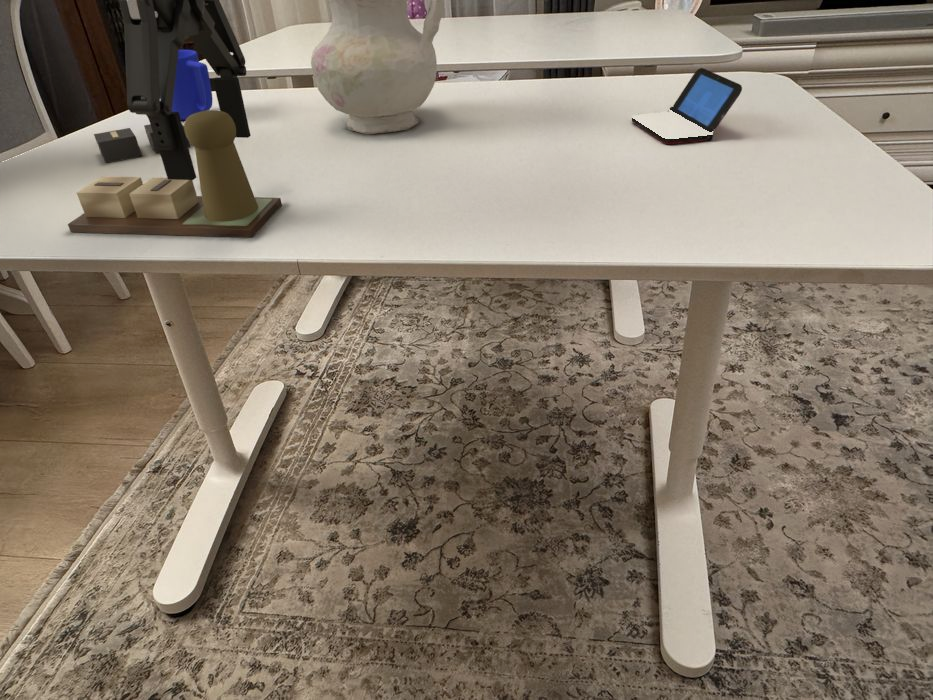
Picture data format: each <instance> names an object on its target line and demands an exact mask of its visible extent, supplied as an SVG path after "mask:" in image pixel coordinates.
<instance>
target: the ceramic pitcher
mask: <svg viewBox="0 0 933 700" xmlns="http://www.w3.org/2000/svg"><path fill="white" fill-rule="evenodd" d="M327 1H328V5H329V9H330V13H331V23H330V26H329V29H328V31H327V32H326V34H325V35H324V36H323V37H322V39H321V40H319V42H318V44H317V45H316V46H315V47H314V49H313V50H312V53H311V60H310V65H311V72H312V76H313V79H314V81H315V84H316V87H317V90H318V91H319V93H320V94H321V95H322V97H323V98H324V100H325V101H326V102H327V103H328V104H329V105H330V106H331V107H332V108H333V109H334V110H336V111H337V112H340V113H343V114H344V115H348V118H347V122H346V128H347V129H348V130H350V131H353V132H355V133H356V132H357V133H360V134H363V135H367V136H368V135H374V134H386V133H392V132H400V131H407V130H410V129H411V128H413V127H414V126H416V125H417V124H419V123H420V121H419V119H418V118H417V117H416V116H415V115H414V113H413V112H412V111H414V110H416V109H418V108H420V107H421V106H422V105H423V104H424V103H425V102H426V100H427V99H428V97H429V96H430V94H431V92H432V90H433V88H434V86H435V84H436V83H435V82H436V79H437V70H438V63H437V54H436V49H435V47H434V44H433V41H434V39H435V37H436V35H437V33H438V32H439V29H440V25H441V24H440V23H441V20H442V17H443V14H444V11H445V0H430V2H429V5H428V10H427V12H426V16H425V18H424V21H423V27H422V28H423V29H422V32H420V31H419V30H417V29H416V27H415V26H414V25H412V23H411V21H410V18H409V15H408V3H407V2H408V0H327Z"/></svg>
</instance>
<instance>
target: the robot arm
mask: <svg viewBox="0 0 933 700" xmlns="http://www.w3.org/2000/svg"><path fill="white" fill-rule="evenodd" d="M118 3H119V7H120V13H121V16H122V20H123V27H124V28H123V31H124V55H125V75H126V76H125V77H126V79H125V80H126V81H125V82H126V102H127V104H126V105H127V109H128V111H129V112H130V113H132V114H135V115H141V116H142V115H143V116H146V117H147V118H148V121H149V124H150V125H151V128H152V131H153V134H154V138H155V141H156V145H157V146H158V148H159V151H160V153H159V154H160V157H161V162H162V164H163V168H164V171H165V174H166V178H168V179H172V180H192V181H194V180H195V179H197V174H196V171H195V167H194V163H193V159H192V156H191V152H190V147H188V145H187V141H186V137H185V134H184V130H183V126H184V125H183V123H182V120H181V119H180V115H179V112H172V105H173V96H174V87H175V78H176V69H177V60H178V51H179V50H180V49H181V48H182V47H184V45H185V41H186V40H187V39H190V40H191V41H192V43H193V44H194V46H195V47H196V48H197V50H198V51H199V52H200V54H201V55H202V56H203V58H204V59H205V61H206V62H207V63H208V64H209V66H210V68H211V69H212V71H213V72H214V73H215V74H216V76H218V77H214V78H212V82H213V87H214V89H215V90H214V91H215V94H216V100H217V103H218V106H219V107H218V108H219V111H223V112H225V113H228V114H229V115H230V117H231V118H232V119H233V121H234V123H235V127H236V137H235V138H237V139H238V138H240V139H241V138H243V139H245V138H246V139H249V138H250V137H251V129H250V126H249V121H248V116H247V113H246V108H245V107H246V106H245V103H244V98H243V92H242V89H241V83H240V80H239V79H240V78H239V77H245V76H247V67H246V57H245V55H244V53H243V51H242V49H241V47H240V44H239V42H238V39H237V37H236V35H235V33H234V30H233V28H232V26H231V23H230V21H229V19H228V17H227V15H226V13H225V10H224V8H223V5H222V3H221V1H220V0H118ZM160 98H161V100H160ZM182 125H183V126H182Z"/></svg>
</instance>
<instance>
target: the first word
mask: <svg viewBox="0 0 933 700" xmlns="http://www.w3.org/2000/svg"><path fill="white" fill-rule="evenodd" d="M182 126H183V130H184V124H182ZM143 127H144V129H145V130H144V131H145V134H146V137H147V140H148V143H149V145H150V147H151V148H152V149H153V151H154V152H155V153H156V154H160V151H159V148H158V146H157V145H156V141H155V138H154V134H153V131H152V128H151V125H150V123H149V124H145V125H143ZM184 134H185V131H184ZM93 136H94V138H95V141H96V144H97V146H98V150H99V152H100V155H101V157H102V159H103V161H104V163H105V164H109V163H114V162H119V161H124V160H129V159H134V158H140V157H143V155H142V152H141V149H140V146H139V142H138V140H137V136H136V134H135V133H134V132H133V130H132V129H131V127H127V128H126V127H125V128H122V129H116V130H115V129H114V130H110V131H109V130H108V131H104V132H98V133H94V134H93ZM185 137H186V134H185ZM186 141H187V145H188V148H190V147H191V144H190V142H189V141H188V139H187V137H186Z"/></svg>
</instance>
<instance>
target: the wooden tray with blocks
mask: <svg viewBox="0 0 933 700" xmlns="http://www.w3.org/2000/svg"><path fill="white" fill-rule="evenodd" d="M76 196H77V198H78V201H79V203H80V206H81V208H82V210H83V213H82V214H81V215H79V216H77V217H76V218H74V219H73V220H72V221H70V222H69V223H67V226H68V229H69V232H70V233H87V234H88V233H93V234H95V233H96V234H121V235H122V234H124V235H125V234H126V235H155V236H156V235H159V236H161V235H162V236H191V237H221V238H222V237H225V238H227V237H228V238H229V237H230V238H253V237H254V236H256V234H257V233H259V231H260V230H261V229H262V228H263V226H264V225H265V224H267V223H268V221H269V220H271V218H272V217H273V216H274V215H275V214H276V213H277V212H278V210H279V209H280V208H281V207H282V206H283V203H282V202H283V201H282V198H281V197H266V196H265V197H263V196H262V197H261V196H260V197H259V196H254V197H255V199H256V202H257V205H258V209H257V211H256V212H255V213H253V214H252V215H250V216H248V217H245V218H242V219H238V220H233V221H212V220H209V219H207V218H206V217H205V215H204V209H203V202H202V195H197V192H196V188H195V185H194V180H172V179H168V178H167V177H151V178H150V179H148V180H147V181H145V182H144V183H143V180H142V178H141V176H101V177H99V178H97V179H96V180H94V181H93V182H91V183H89V184H88V185H86V186H84V187H83V188H81V189H79V190H78V191H76Z"/></svg>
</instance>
